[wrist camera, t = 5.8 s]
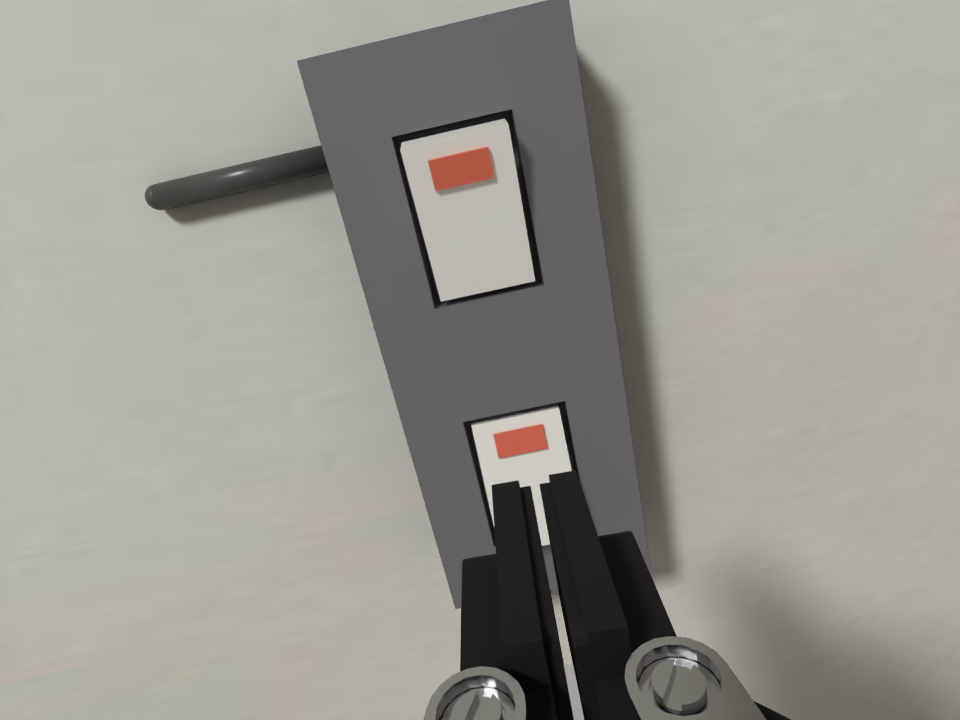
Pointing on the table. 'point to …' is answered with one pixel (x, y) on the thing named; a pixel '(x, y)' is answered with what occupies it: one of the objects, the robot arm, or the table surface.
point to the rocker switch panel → (485, 316)
